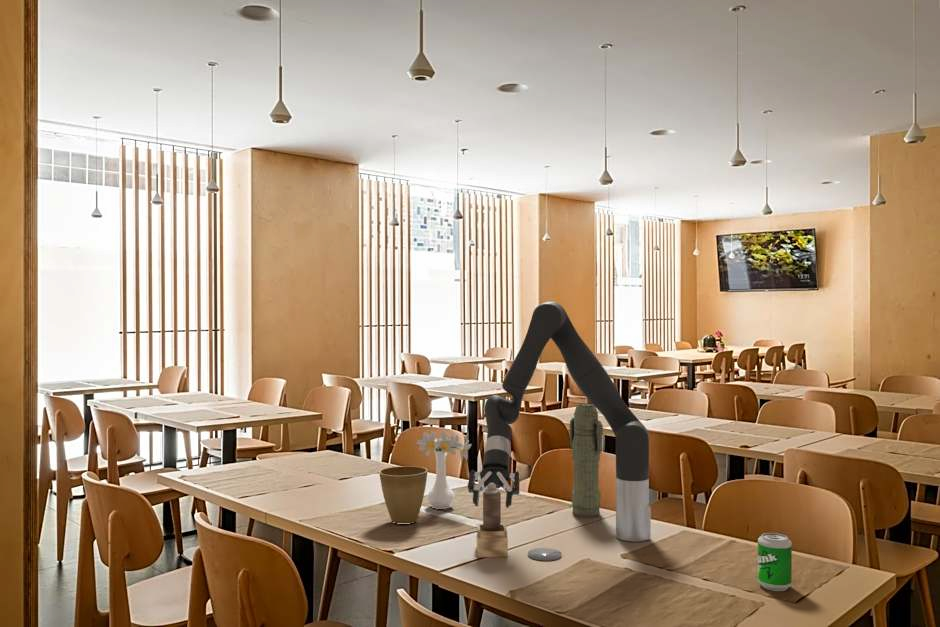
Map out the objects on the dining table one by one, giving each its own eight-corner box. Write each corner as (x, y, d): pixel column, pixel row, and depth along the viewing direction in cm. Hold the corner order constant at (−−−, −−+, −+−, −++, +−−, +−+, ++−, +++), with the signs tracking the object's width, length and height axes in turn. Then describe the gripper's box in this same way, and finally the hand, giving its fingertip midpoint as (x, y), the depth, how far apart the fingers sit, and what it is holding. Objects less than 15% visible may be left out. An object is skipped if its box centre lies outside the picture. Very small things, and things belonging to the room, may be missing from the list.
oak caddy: (505, 546, 219) (505, 523, 219) (507, 556, 210) (507, 532, 210) (476, 546, 219) (476, 523, 219) (477, 557, 210) (477, 532, 210)
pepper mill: (500, 530, 217) (500, 480, 216) (501, 535, 212) (501, 484, 212) (482, 530, 216) (482, 480, 216) (483, 536, 212) (483, 484, 211)
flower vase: (466, 513, 253) (466, 436, 252) (411, 510, 256) (410, 434, 256) (474, 503, 265) (474, 429, 265) (421, 501, 269) (421, 428, 269)
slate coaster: (559, 550, 215) (559, 547, 215) (563, 560, 206) (563, 558, 206) (526, 550, 215) (526, 548, 215) (529, 561, 206) (529, 558, 206)
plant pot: (431, 515, 250) (430, 465, 250) (423, 529, 236) (423, 476, 235) (384, 514, 252) (384, 465, 252) (374, 528, 237) (374, 475, 237)
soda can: (783, 580, 191) (783, 531, 191) (797, 592, 184) (797, 541, 183) (752, 581, 191) (752, 532, 191) (765, 592, 183) (765, 541, 183)
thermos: (595, 519, 246) (595, 407, 245) (563, 513, 253) (563, 404, 252) (609, 513, 253) (609, 404, 252) (577, 507, 260) (577, 401, 259)
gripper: (471, 447, 224) (464, 497, 213) (521, 448, 222) (516, 499, 211) (473, 462, 230) (467, 511, 218) (522, 463, 227) (518, 513, 216)
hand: (491, 505), depth 215 cm, fingers open, 8 cm apart
